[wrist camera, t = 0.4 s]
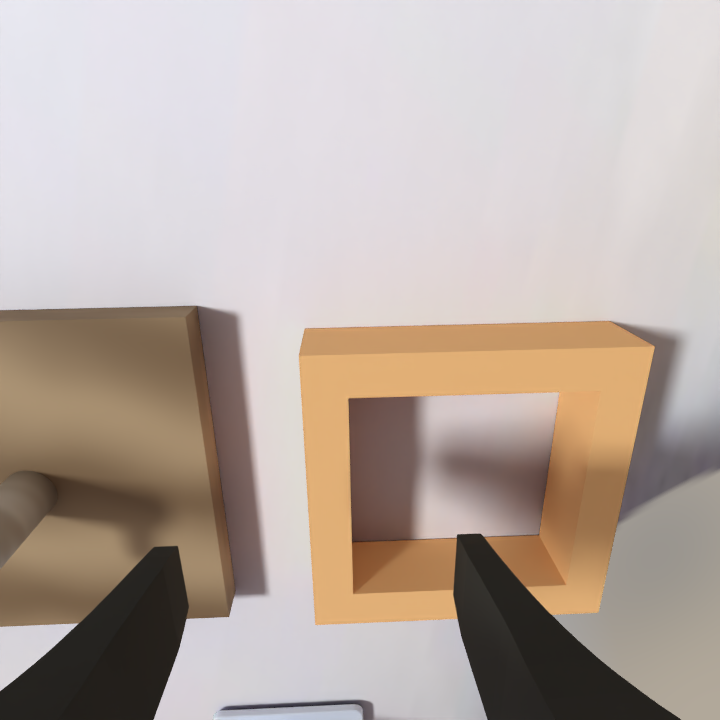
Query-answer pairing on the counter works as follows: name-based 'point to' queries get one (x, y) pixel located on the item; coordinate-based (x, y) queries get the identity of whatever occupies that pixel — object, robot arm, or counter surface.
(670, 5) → the counter surface
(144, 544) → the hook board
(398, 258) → the counter surface
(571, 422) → the wooden square frame
